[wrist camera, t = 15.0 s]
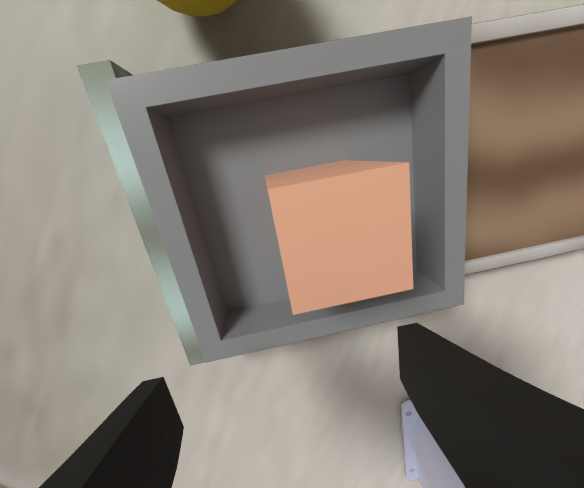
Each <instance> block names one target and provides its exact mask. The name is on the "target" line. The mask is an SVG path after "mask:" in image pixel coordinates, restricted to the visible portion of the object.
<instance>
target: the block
mask: <svg viewBox="0 0 584 488" xmlns="http://www.w3.org/2000/svg"><path fill="white" fill-rule="evenodd" d="M265 179H266V184H267V189H268V194H269V199H270V204H271V209H272V214H273V219H274V224H275V229H276V234H277V239H278V244H279V249H280V254H281V259H282V263H283V268H284V273H285V278H286V283H287V288H288V293H289V298H290V303H291V308H292V313H293V315H295V314H299V313H304V312H309V311H313V310H318V309H323V308H327V307H332V306H337V305H341V304H346V303H351V302H355V301H360V300H364V299H369V298H374V297H378V296H383V295H388V294H392V293H397V292H402V291H406V290H411V289H413V262H412V232H411V202H410V172H409V162H383V161H353V160H344V161H339V162H333V163H328V164H323V165H317V166H312V167H307V168H302V169H296V170H291V171H286V172H280V173H275V174H270V175H265Z"/></svg>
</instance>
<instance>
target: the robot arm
mask: <svg viewBox="0 0 584 488" xmlns="http://www.w3.org/2000/svg"><path fill="white" fill-rule="evenodd" d="M397 328H398V348H399V368H400V380H401V382H402V384H403V386H404V388H405V390H406V392H407V394H408V396H409V398H410V400H408V401H405V402H403V403H402V404H401V416H402V431H403V446H404V461H405V475H406V477H407V480H409V481H415V480H419V481H420V483H421V485H422V487H423V488H584V409H582V408H580V407H578V406H575V405H573V404H571V403H569V402H566V401H564V400H562V399H560V398H558V397H556V396H554V395H551V394H549V393H547V392H545V391H543V390H541V389H539V388H537V387H535V386H533V385H531V384H529V383H527V382H525V381H523V380H521V379H519V378H517V377H515V376H513V375H511V374H509V373H507V372H505V371H503V370H501V369H499V368H497V367H496V366H494V365H492V364H490V363H488V362H486V361H484V360H482V359H481V358H479V357H477V356H475V355H473V354H472V353H470V352H468V351H466V350H464V349H463V348H461V347H459V346H457V345H455V344H454V343H452V342H450V341H448V340H447V339H445V338H443V337H441V336H439V335H438V334H436V333H434V332H432V331H431V330H429V329H427V328H425V327H423V326H422V325H420V324H418V323H413V324H409V325H404V326H399V327H397ZM183 429H184V426H183V424H182V421H181V419H180V416H179V414H178V412H177V409H176V407H175V404H174V402H173V399H172V397H171V394H170V392H169V389H168V387H167V384H166V382H165V379H164V377H161V378H156V379H151V380H147V381H143V382H142V383H141V384H140V385H139V386H137V387H136V388H135V389H134V390H133V391H132V392H131V393H130V394H129V396H128V397H127V398H126V399H125V400H124V401H123V402H122V403H121V404H120V405H119V406H118V407H117V408H116V409H115V410H114V411H113V412H112V413H111V414H110V415H109V416H108V418H107V419H106V420H105V421H104V422H103V423H102V424H101V425H100V426H99V427H98V428H97V429H96V430H95V431H94V432H93V433H92V434H91V435H90V436H89V437H88V438H87V440H86V441H85V442H84V443H83V444H82V445H81V446H80V447H79V448H78V449H77V450H76V451H75V452H74V453H73V454H72V455H71V456H70V457H69V458H68V459H67V460H66V461H65V462H64V463H63V464H62V465H61V466H60V467H59V468H58V469H57V470H56V471H55V472H54V473H53V474H52V475H51V476H50V477H49V478H48V479H47V480H46V481H45V482H44V483H43V484H42V485H41V486H40V487H39V488H171V487H172V484H173V480H174V477H175V473H176V469H177V464H178V459H179V453H180V448H181V441H182V435H183Z"/></svg>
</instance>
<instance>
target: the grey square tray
mask: <svg viewBox="0 0 584 488" xmlns="http://www.w3.org/2000/svg"><path fill="white" fill-rule="evenodd" d="M471 29H472V16H471V17H466V18H460V19H454V20H448V21H443V22H437V23H431V24H425V25H420V26H414V27H408V28H402V29H397V30H391V31H385V32H379V33H374V34H368V35H362V36H356V37H351V38H345V39H339V40H333V41H328V42H322V43H316V44H310V45H305V46H299V47H293V48H287V49H282V50H276V51H270V52H264V53H258V54H253V55H247V56H241V57H235V58H230V59H224V60H218V61H212V62H207V63H201V64H195V65H189V66H184V67H178V68H172V69H166V70H161V71H155V72H149V73H143V74H138V75H132V76H126V77H120V78H115V79H109V80H105V81H106V83H107V86H108V89H109V92H110V95H111V98H112V100H113V103H114V106H115V109H116V112H117V114H118V117H119V120H120V123H121V126H122V129H123V131H124V134H125V137H126V140H127V143H128V145H129V148H130V151H131V154H132V157H133V160H134V162H135V165H136V168H137V171H138V174H139V176H140V179H141V182H142V185H143V188H144V190H145V193H146V196H147V199H148V202H149V205H150V207H151V210H152V213H153V216H154V219H155V221H156V224H157V227H158V230H159V233H160V236H161V238H162V241H163V244H164V247H165V250H166V252H167V255H168V258H169V261H170V264H171V267H172V269H173V272H174V275H175V278H176V281H177V283H178V286H179V289H180V292H181V295H182V297H183V300H184V303H185V306H186V309H187V312H188V314H189V317H190V320H191V323H192V326H193V328H194V331H195V334H196V337H197V340H198V343H199V345H200V348H201V351H202V354H203V357H204V359H205V362H211V361H215V360H219V359H224V358H228V357H233V356H237V355H242V354H246V353H250V352H255V351H259V350H264V349H268V348H273V347H277V346H281V345H286V344H290V343H295V342H299V341H304V340H308V339H312V338H317V337H321V336H326V335H330V334H335V333H339V332H343V331H348V330H352V329H357V328H361V327H366V326H370V325H374V324H379V323H383V322H388V321H392V320H397V319H401V318H405V317H410V316H414V315H419V314H423V313H428V312H432V311H436V310H441V309H445V308H450V307H454V306H459V305H463V304H464V278H465V242H466V207H467V171H468V136H469V100H470V64H471ZM344 160H353V161H383V162H409V172H410V202H411V232H412V262H413V289H411V290H406V291H402V292H397V293H392V294H388V295H383V296H378V297H374V298H369V299H364V300H360V301H355V302H351V303H346V304H341V305H337V306H332V307H327V308H323V309H318V310H313V311H309V312H304V313H299V314H295V315H293V313H292V308H291V303H290V298H289V293H288V288H287V283H286V278H285V273H284V268H283V263H282V259H281V254H280V249H279V244H278V239H277V234H276V229H275V224H274V219H273V214H272V209H271V204H270V199H269V194H268V189H267V184H266V179H265V175H270V174H275V173H280V172H286V171H291V170H296V169H302V168H307V167H312V166H317V165H323V164H328V163H333V162H339V161H344Z"/></svg>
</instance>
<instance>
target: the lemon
mask: <svg viewBox="0 0 584 488" xmlns="http://www.w3.org/2000/svg"><path fill="white" fill-rule="evenodd" d="M157 1H159V2H161V3H162V4H164V5H165V6H167V7H169V8H170V9H172V10H174V11H177V12H180V13H183V14H186V15H190V16H210V15H214V14H217V13H221V12H222V11H224V10H225V9H227V8H228V7H230V6H231V5H233V4H234V3H235V2H236V1H237V0H157Z"/></svg>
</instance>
